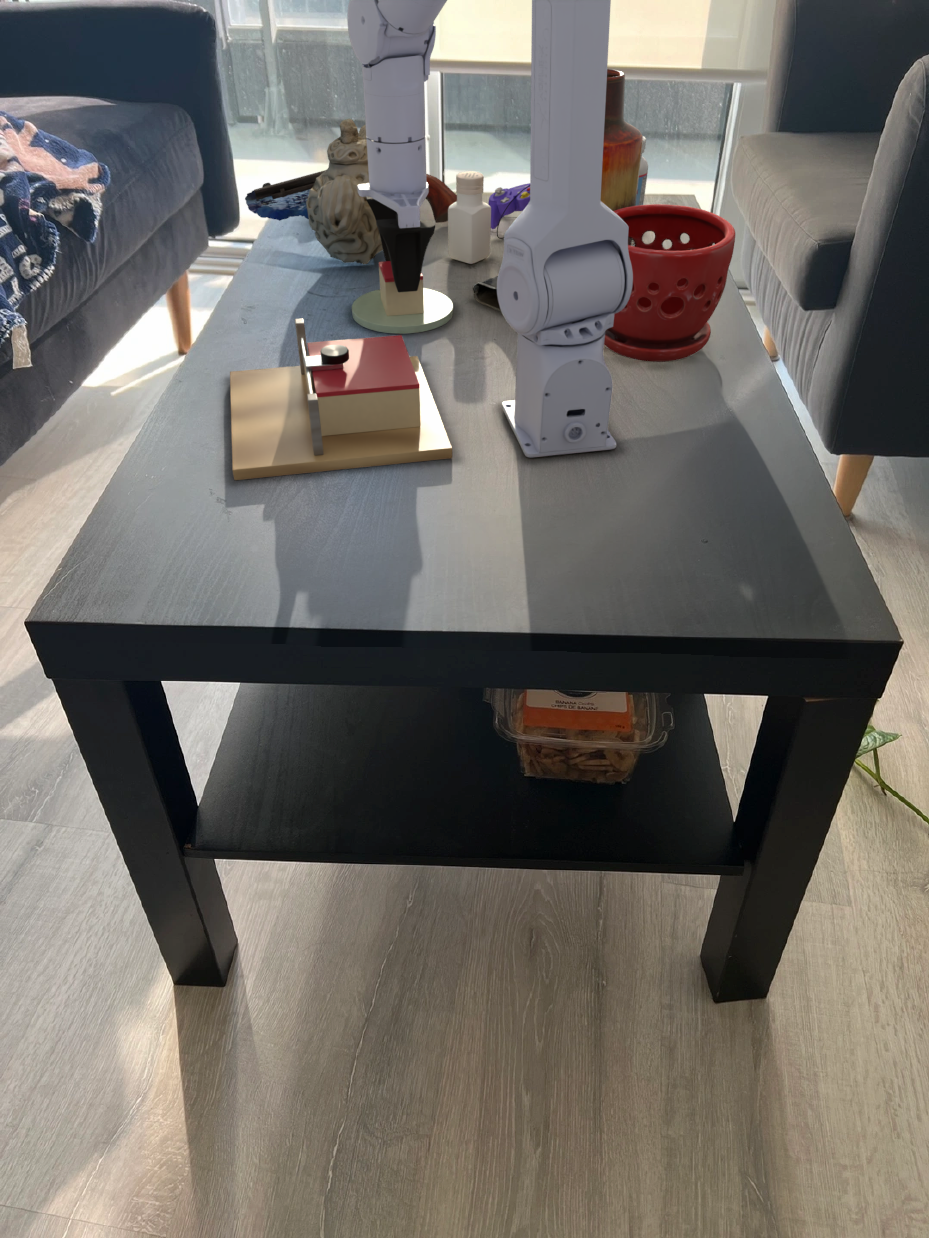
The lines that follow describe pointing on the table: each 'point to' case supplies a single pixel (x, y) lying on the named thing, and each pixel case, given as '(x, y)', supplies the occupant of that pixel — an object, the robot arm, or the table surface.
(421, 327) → the plate
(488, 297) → the camera
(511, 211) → the game controller
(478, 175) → the pepper shaker
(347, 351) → the blade
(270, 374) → the board
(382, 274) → the cake slice
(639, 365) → the table surface
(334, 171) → the teapot
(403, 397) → the red and beige block
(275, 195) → the revolver
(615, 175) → the vase
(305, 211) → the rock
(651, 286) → the flower pot
